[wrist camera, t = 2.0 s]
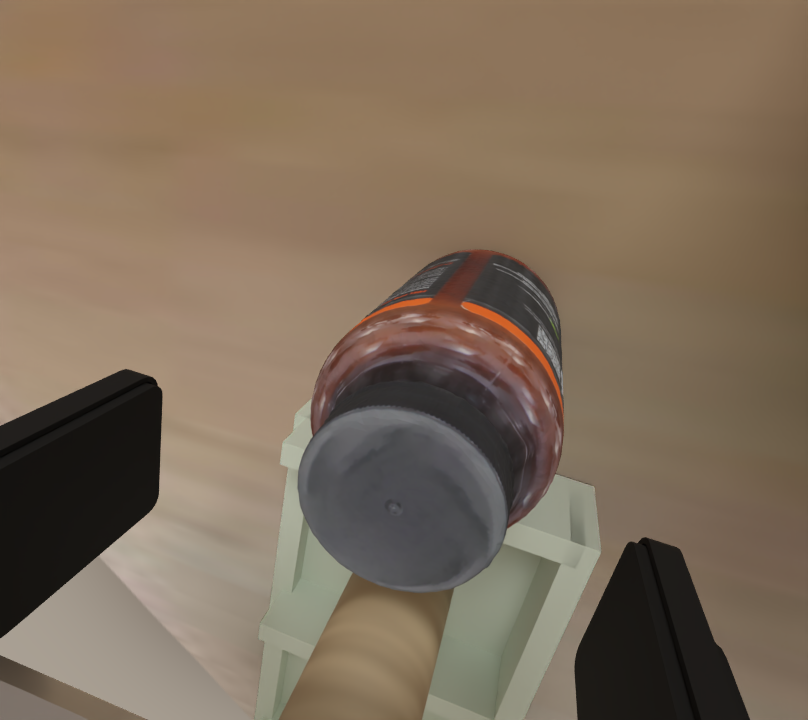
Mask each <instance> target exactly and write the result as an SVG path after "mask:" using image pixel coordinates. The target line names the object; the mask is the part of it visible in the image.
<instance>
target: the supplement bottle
mask: <svg viewBox="0 0 808 720" xmlns="http://www.w3.org/2000/svg"><path fill="white" fill-rule="evenodd" d="M563 414H564V403H563V372H562V350H561V328H560V319H559V316H558V312H557V307H556V305H555V302H554V299H553V297H552V296H551V293H550V291H549V290H548V288H547V286H546V285H545V283H544V282H543V281H542V280H541V279H540V278H539V277H538V275H537V274H536V273H535V272H534V271H533V270H531V269H530V268H529V267H528V266H526V265H525V264H524V263H522V262H520V261H519V260H517V259H515V258H513V257H510V256H508V255H505V254H502V253H498V252H494V251H489V250H471V249H470V250H463V251H458V252H455V253H452V254H449V255H446V256H444V257H441V258H439V259H437V260H435V261H434V262H432V263H430V264H428V265H427V266H426V267H424V268H423V269H422V270H421V271H419V272H418V273H417V274H416V275H414V276H413V277H412V278H411V279H410V280H408V282H406V283H405V284H404V285H403V286H402V287H400V288H399V289H398V290H397V291H395V292H394V293H393V294H392V295H391V296H390V297H389V298H388V299H386V300H385V301H384V302H383V303H382V304H380V305H379V306H378V307H377V308H376V309H375V310H373V311H372V312H371V313H370V314H369V315H367V316H366V317H365V318H364V319H363V320H362V321H361V322H360V323H359V324H358V325H356V326H355V327H354V328H353V329H352V330H351V331H350V332H348V333H347V334H346V335H345V336H344V337H343V338H342V339H341V340H340V341H339V343H338V344H337V345H336V346H335V347H334V349H333V350H332V352H331V353H330V355H329V356H328V358H327V359H326V361H325V363H324V365H323V367H322V369H321V370H320V373H319V376H318V378H317V381H316V384H315V388H314V393H313V397H312V401H311V418H310V421H311V430H312V436H313V437H312V438H311V440H310V442H309V444H308V445H307V447H306V449H305V451H304V453H303V456H302V458H301V462H300V465H299V470H298V485H297V489H298V493H299V502H300V507H301V510H302V512H303V515H304V517H305V519H306V521H307V523H308V525H309V527H310V529H311V531H312V533H313V535H314V536H315V537H316V538H317V539H318V541H319V543H320V544H321V545H322V546H323V547H324V549H325V550H326V551H327V552H328V553H329V554H330V555H331V556H332V557H333V558H334V559H335V560H336V561H337V562H338V563H339V564H341V565H342V566H344V567H345V568H346V569H348V570H350V571H351V572H353V573H355V574H356V575H358V576H360V577H362V578H364V579H366V580H368V581H370V582H372V583H375V584H377V585H379V586H382V587H386V588H390V589H393V590H398V591H405V592H413V593H427V592H438V591H443V590H448V589H453V588H455V587H457V586H460V585H462V584H464V583H466V582H468V581H469V580H471V579H472V578H474V577H475V576H477V575H478V574H479V573H481V571H482V570H483V569H485V568H488V567H489V565H490V564H491V562H492V560H493V559H494V557H495V556H496V555H497V553H498V552H499V550H500V548H501V546H502V544H503V541H504V538H505V535H506V531H507V529H508V528H510V527H511V526H512V525H514V524H516V523H517V522H519V521H520V520H521V519H522V518H524V517H525V516H527V515H528V514H529V512H530V511H531V510H532V509H533V508H535V506H536V505H537V504H538V502H539V501H540V500H541V498H543V497H544V496H545V494H546V493H547V491H548V489H549V486H550V484H551V483H552V482H553V479H554V476H555V474H556V471H557V468H558V465H559V461H560V457H561V452H562V444H563V436H564V421H563Z"/></svg>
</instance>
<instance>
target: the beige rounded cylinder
mask: <svg viewBox="0 0 808 720" xmlns="http://www.w3.org/2000/svg"><path fill="white" fill-rule="evenodd" d="M453 592H454V588H453V589H448V590H443V591H438V592H427V593H413V592H405V591H398V590H393V589H390V588H386V587H382V586H379V585H377V584H375V583H372V582H370V581H368V580H366V579H364V578H362V577H360V576H358V575H356V574H355V573H352V575H351V577H350V579H349V581H348V583H347V585H346V587H345V589H344V591H343V593H342V595H341V597H340V599H339V601H338V603H337V605H336V607H335V609H334V611H333V613H332V615H331V616H330V618H329V620H328V622H327V624H326V626H325V628H324V630H323V632H322V634H321V636H320V638H319V640H318V642H317V644H316V646H315V648H314V650H313V652H312V654H311V656H310V658H309V660H308V662H307V664H306V666H305V668H304V670H303V672H302V674H301V676H300V678H299V680H298V682H297V684H296V686H295V688H294V690H293V692H292V694H291V696H290V698H289V700H288V702H287V704H286V706H285V708H284V710H283V712H282V714H281V716H280V718H279V720H422V718H423V714H424V709H425V705H426V701H427V697H428V693H429V689H430V685H431V681H432V677H433V673H434V669H435V665H436V661H437V657H438V653H439V649H440V644H441V640H442V636H443V632H444V628H445V624H446V620H447V616H448V612H449V608H450V604H451V600H452V596H453Z"/></svg>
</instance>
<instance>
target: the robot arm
mask: <svg viewBox="0 0 808 720" xmlns="http://www.w3.org/2000/svg"><path fill="white" fill-rule="evenodd" d="M161 421H162V390H161V388H159V387H158V385H157V382H156V380H155V379H154V378H153V377H150V376H147V375H144V374H141V373H138V372H135V371H132V370H127V369H125V370H121V371H119V372H117V373H115V374H112V375H110V376H108V377H106V378H104V379H102V380H99V381H97V382H95V383H93V384H91V385H88V386H86V387H84V388H82V389H80V390H78V391H75V392H73V393H71V394H69V395H67V396H64V397H62V398H60V399H58V400H56V401H54V402H51V403H49V404H47V405H45V406H43V407H40V408H38V409H36V410H34V411H32V412H30V413H27V414H25V415H23V416H21V417H19V418H16V419H14V420H12V421H10V422H8V423H6V424H3V425H1V426H0V638H1V637H3V636H4V635H5V634H7V633H8V632H9V631H10V630H12V629H13V628H14V627H15V626H16V625H18V623H20V622H21V621H22V620H23V619H25V618H26V617H27V616H28V615H29V614H30V613H32V612H33V611H34V610H35V609H36V608H37V607H39V606H40V605H41V604H42V603H43V602H45V601H46V600H47V599H48V598H49V597H50V596H52V595H53V594H54V593H55V592H56V591H57V590H59V589H60V588H61V587H62V586H63V585H64V584H66V583H67V582H68V581H69V580H70V579H72V578H73V577H74V576H75V575H76V574H77V573H79V572H80V571H81V570H82V569H83V568H84V567H86V566H87V565H88V564H89V563H90V562H91V561H93V560H94V559H95V558H96V557H97V556H99V555H100V554H101V553H102V552H103V551H104V550H106V549H107V548H108V547H109V546H110V545H111V544H113V543H114V542H115V541H116V540H117V539H119V538H120V537H121V536H122V535H123V534H124V533H126V532H127V531H128V530H129V529H130V528H131V527H133V526H134V525H135V524H136V523H137V522H138V521H140V520H141V519H142V518H143V517H144V516H146V515H147V514H148V513H149V512H150V511H151V510H152V509H153V507H154V506H155V504H156V502H157V499H158V495H159V475H160V448H161ZM575 685H576V701H577V717H578V720H750V718H749V716H748V713H747V711H746V708H745V705H744V703H743V700H742V697H741V695H740V692H739V690H738V687H737V684H736V682H735V679H734V676H733V674H732V671H731V669H730V666H729V663H728V661H727V658H726V656H725V654H724V652H723V650H722V649H721V648H720V647H719V646H718V645H717V644H716V643H715V642H714V639H713V636H712V633H711V631H710V628H709V625H708V623H707V620H706V617H705V614H704V612H703V609H702V606H701V604H700V601H699V598H698V595H697V593H696V590H695V587H694V585H693V582H692V579H691V576H690V574H689V571H688V568H687V566H686V563H685V560H684V557H683V555H682V553H681V551H680V549H678V548H677V547H674V546H671V545H668V544H664V543H661V542H658V541H655V540H652V539H649V538H646V537H645V538H642V539H641V540H640V541H639V542H638V543H634V542H629V543H628V544H627V545H626V547H625V549H624V551H623V553H622V555H621V558H620V560H619V562H618V564H617V566H616V568H615V570H614V572H613V575H612V577H611V579H610V581H609V583H608V585H607V587H606V589H605V592H604V594H603V596H602V598H601V600H600V602H599V604H598V607H597V609H596V611H595V613H594V615H593V617H592V619H591V621H590V624H589V626H588V628H587V630H586V632H585V634H584V636H583V638H582V641H581V643H580V645H579V647H578V650H577V653H576V658H575ZM0 720H147V719H145V718H142V717H140V716H138V715H136V714H133V713H131V712H129V711H127V710H124V709H122V708H120V707H117V706H115V705H113V704H111V703H108V702H106V701H104V700H101V699H99V698H97V697H95V696H93V695H90V694H88V693H86V692H83V691H81V690H79V689H77V688H74V687H72V686H70V685H67V684H65V683H63V682H60V681H58V680H56V679H54V678H51V677H49V676H47V675H44V674H42V673H40V672H37V671H35V670H33V669H31V668H28V667H26V666H23V665H21V664H19V663H17V662H14V661H12V660H10V659H7V658H5V657H3V656H0Z"/></svg>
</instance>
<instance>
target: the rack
mask: <svg viewBox="0 0 808 720" xmlns="http://www.w3.org/2000/svg"><path fill="white" fill-rule="evenodd" d="M311 401H312V398H311V399H310V400H309V401H308V402H307V403H306V404H305V405H304V406H303V407H302V408H301V409H300V410H299V411H298V412H297V413H296V414H295V420H294V428H293V432H292V433H291V434H290V435H289V436H288V437H287V438H286V439H285V440H284V441H283V444H282V452H281V460H280V464H281V465H283V466H286V467H288V472H287V480H286V487H285V494H284V502H283V509H282V517H281V524H280V532H279V539H278V546H277V554H276V561H275V569H274V576H273V584H272V591H271V598H270V606H269V610H268V612H267V613H266V615H265V616H264V618H263V619H262V621H261V622H260V626H259V634H258V639H259V640H261V641H264V642H265V643H264V650H263V658H262V665H261V673H260V680H259V687H258V695H257V702H256V710H255V717H254V720H279V718H280V716H281V714H282V712H283V710H284V708H285V706H286V704H287V702H288V700H289V698H290V696H291V694H292V692H293V690H294V688H295V686H296V684H297V682H298V680H299V678H300V676H301V674H302V672H303V670H304V668H305V666H306V664H307V662H308V660H309V658H310V656H311V654H312V652H313V650H314V648H315V646H316V644H317V642H318V640H319V638H320V636H321V634H322V632H323V630H324V628H325V626H326V624H327V622H328V620H329V618H330V616H331V615H332V613H333V611H334V609H335V607H336V605H337V603H338V601H339V599H340V597H341V595H342V593H343V591H344V589H345V587H346V585H347V583H348V581H349V579H350V577H351V575H352V573H353V572H351V571H350V570H348V569H346V568H345V567H344V566H342V565H341V564H339V563H338V562H337V561H336V560H335V559H334V558H333V557H332V556H331V555H330V554H329V553H328V552H327V551H326V550H325V549H324V547H323V546H322V545H321V544H320V543H319V541H318V539H317V538H316V537H315V536H314V535H313V533H312V531H311V529H310V527H309V525H308V523H307V521H306V519H305V517H304V515H303V512H302V510H301V507H300V502H299V493H298V489H297V485H298V470H299V465H300V462H301V458H302V456H303V453H304V451H305V449H306V447H307V445H308V444H309V442H310V440H311V438H312V437H313V436H312V430H311V421H310V418H311ZM600 554H601V544H600V535H599V526H598V516H597V507H596V498H595V489H594V486H591V485H588V484H585V483H582V482H579V481H575V480H572V479H569V478H566V477H563V476H560V475H557V474H555V476H554V479H553V482H552V483H551V484H550V486H549V489H548V491H547V493H546V494H545V496H544V497H543V498H541V500H540V501H539V502H538V504H537V505H536V506H535V508H533V509H532V510H531V511H530V512H529V514H528V515H527V516H525V517H524V518H522V519H521V520H520V521H519V522H517V523H516V524H514V525H512V526H511V527H510V528H508V529H507V531H506V535H505V538H504V541H503V544H502V546H501V548H500V550H499V552H498V553H497V555H496V556H495V557H494V559H493V560H492V562H491V564H490V565H489V567H488V568H485V569H483V570H482V571H481V573H479V574H478V575H477V576H475V577H474V578H472V579H471V580H469V581H468V582H466V583H464V584H462V585H460V586H457V587H455V588H454V592H453V596H452V600H451V604H450V608H449V612H448V616H447V620H446V624H445V628H444V632H443V636H442V640H441V644H440V649H439V653H438V657H437V661H436V665H435V669H434V673H433V677H432V681H431V685H430V689H429V693H428V697H427V701H426V705H425V709H424V714H423V718H422V720H524V717H525V715H526V713H527V711H528V709H529V707H530V704H531V702H532V700H533V698H534V696H535V694H536V692H537V689H538V687H539V685H540V683H541V681H542V679H543V676H544V674H545V672H546V670H547V668H548V666H549V664H550V661H551V659H552V657H553V655H554V653H555V651H556V648H557V646H558V644H559V642H560V640H561V638H562V636H563V633H564V631H565V629H566V627H567V625H568V623H569V620H570V618H571V616H572V614H573V612H574V610H575V608H576V605H577V603H578V601H579V599H580V597H581V595H582V592H583V590H584V588H585V586H586V584H587V582H588V579H589V577H590V575H591V573H592V571H593V569H594V567H595V564H596V562H597V560H598V558H599V556H600Z"/></svg>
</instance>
